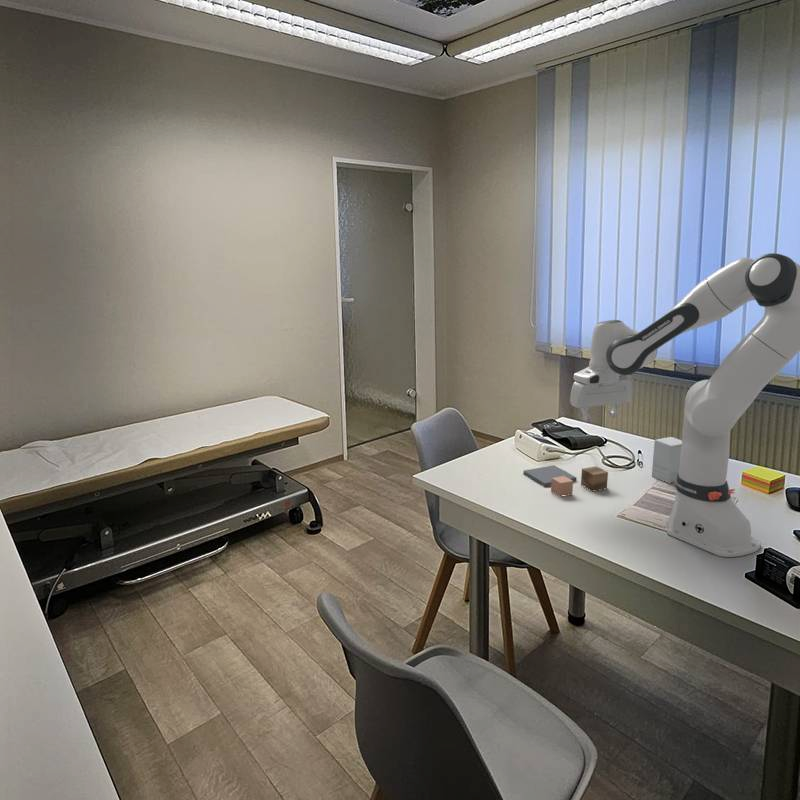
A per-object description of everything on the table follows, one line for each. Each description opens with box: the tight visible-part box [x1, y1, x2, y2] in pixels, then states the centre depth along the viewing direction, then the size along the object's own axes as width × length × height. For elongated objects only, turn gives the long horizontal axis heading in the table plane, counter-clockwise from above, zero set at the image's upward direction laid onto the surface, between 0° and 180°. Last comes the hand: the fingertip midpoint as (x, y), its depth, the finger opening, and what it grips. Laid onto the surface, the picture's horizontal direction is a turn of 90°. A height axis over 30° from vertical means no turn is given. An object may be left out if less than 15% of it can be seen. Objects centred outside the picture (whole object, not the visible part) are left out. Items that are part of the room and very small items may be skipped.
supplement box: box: [651, 436, 682, 484], centre depth 194 cm, size 7×7×13 cm
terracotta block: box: [550, 476, 574, 497], centre depth 186 cm, size 4×4×4 cm
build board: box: [523, 464, 577, 488], centre depth 198 cm, size 12×12×1 cm
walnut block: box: [580, 465, 609, 492], centre depth 190 cm, size 6×6×6 cm
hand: (599, 418), depth 185 cm, fingers open, 8 cm apart
